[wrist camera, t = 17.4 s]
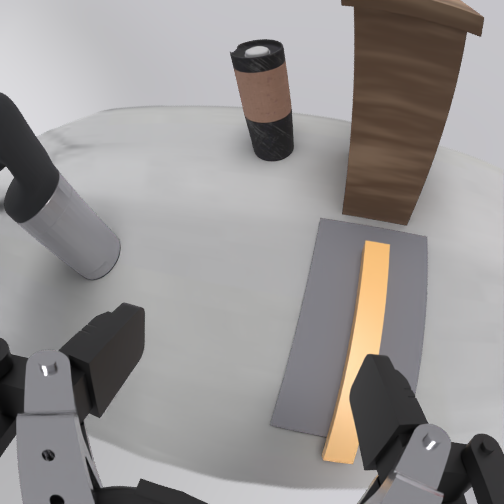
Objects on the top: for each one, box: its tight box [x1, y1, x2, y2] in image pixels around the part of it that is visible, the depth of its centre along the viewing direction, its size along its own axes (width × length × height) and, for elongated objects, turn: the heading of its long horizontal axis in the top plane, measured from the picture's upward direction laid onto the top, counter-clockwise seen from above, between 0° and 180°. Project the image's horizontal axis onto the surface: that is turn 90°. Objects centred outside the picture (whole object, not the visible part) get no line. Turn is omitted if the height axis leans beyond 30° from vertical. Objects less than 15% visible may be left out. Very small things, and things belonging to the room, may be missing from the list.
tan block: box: [322, 241, 390, 464], centre depth 30 cm, size 26×3×3 cm, turn 165°
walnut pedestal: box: [341, 0, 484, 225], centre depth 30 cm, size 16×12×32 cm
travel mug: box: [230, 39, 294, 161], centre depth 43 cm, size 8×8×20 cm
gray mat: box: [270, 218, 428, 437], centre depth 33 cm, size 28×16×1 cm, turn 164°
